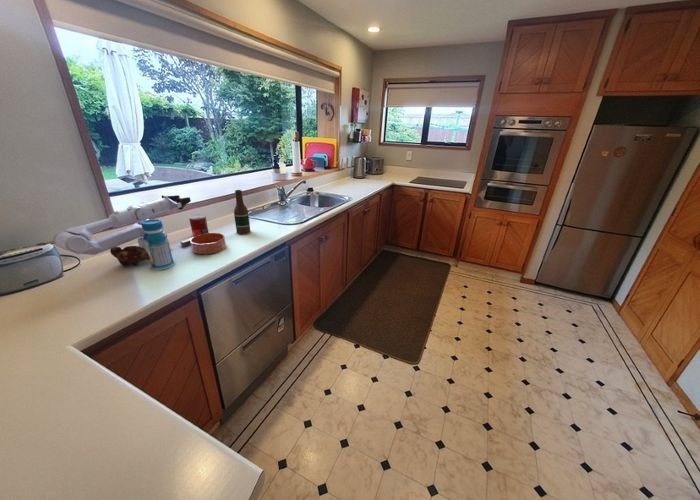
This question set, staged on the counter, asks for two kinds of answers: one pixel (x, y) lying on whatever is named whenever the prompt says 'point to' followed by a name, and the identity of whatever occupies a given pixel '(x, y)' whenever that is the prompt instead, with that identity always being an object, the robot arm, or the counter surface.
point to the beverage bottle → (157, 244)
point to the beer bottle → (241, 215)
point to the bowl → (208, 243)
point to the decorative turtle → (130, 254)
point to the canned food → (198, 224)
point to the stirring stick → (185, 243)
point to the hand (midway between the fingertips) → (184, 198)
